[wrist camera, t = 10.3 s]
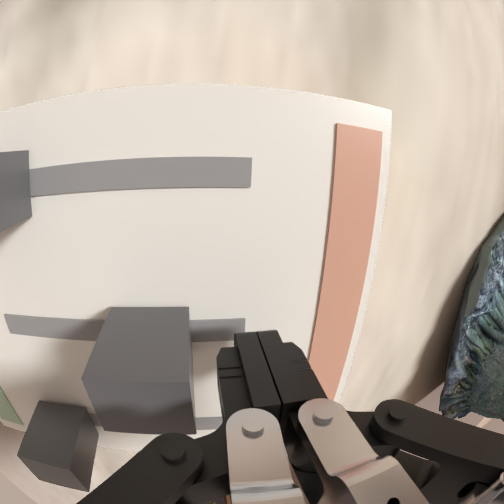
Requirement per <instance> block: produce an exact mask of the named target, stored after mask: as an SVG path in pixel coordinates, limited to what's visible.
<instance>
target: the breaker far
mask: <svg viewBox="0 0 504 504" xmlns="http://www.w3.org/2000/svg"><path fill="white" fill-rule="evenodd" d="M98 437H99V433H98V431H97V429H96V427H95V425H94V423H93V421H92V419H91V417H90V415H89V413H88V411H87V409H86V407H78V406H71V405H64V404H58V403H52V402H46V401H41V400H39V401H38V403H37V406H36V408H35V410H34V413H33V415H32V418H31V420H30V422H29V425H28V427H27V430H26V433H25V435H24V438H23V440H22V443H21V446H20V449H19V451H18V454H17V456H18V457H19V458H20V459H21V460H22V462H23V463H24V464H25V465H26V466H27V467H28V468H29V469H30V470H31V472H32V473H33V474H34V475H35V476H36V477H37V478H38V479H39V480H42V481H45V482H49V483H52V484H56V485H60V486H64V487H68V488H72V489H77V490H81V491H86V492H89V489H90V482H91V476H92V470H93V464H94V458H95V453H96V447H97V442H98Z"/></svg>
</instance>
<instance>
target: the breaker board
mask: <svg viewBox="0 0 504 504" xmlns="http://www.w3.org/2000/svg"><path fill="white" fill-rule="evenodd" d="M391 123H392V110H389V109H386V108H382V107H378V106H374V105H370V104H366V103H361V102H357V101H352V100H348V99H343V98H338V97H333V96H327V95H322V94H316V93H310V92H303V91H296V90H288V89H280V88H271V87H261V86H249V85H233V84H201V83H187V84H155V85H140V86H128V87H118V88H109V89H101V90H94V91H87V92H81V93H75V94H70V95H64V96H59V97H54V98H50V99H45V100H41V101H37V102H33V103H29V104H25V105H21V106H18V107H14V108H11V109H7V110H4V111H1V112H0V152H9V151H22V150H29V178H30V195H31V207H32V216H31V217H29V218H27V219H25V220H23V221H21V222H19V223H17V224H15V225H13V226H12V227H10V228H8V229H6V230H4V231H2V232H0V421H1V422H2V424H3V425H4V426H6V427H9V428H12V429H16V430H19V431H23V432H26V430H27V427H28V425H29V422H30V420H31V418H32V415H33V413H34V410H35V408H36V406H37V403H38V401H39V400H41V401H46V402H52V403H58V404H64V405H71V406H78V407H86V409H87V411H88V413H89V415H90V417H91V419H92V421H93V423H94V425H95V427H96V429H97V431H98V433H99V437H98V442H97V447H102V448H110V449H120V450H132V451H141V450H142V449H143V448H144V447H145V446H146V445H147V444H148V443H149V442H151V441H152V440H153V439H154V438H156V437H157V436H159V434H135V433H121V432H110V431H104V429H103V427H102V425H101V423H100V421H99V419H98V417H97V414H96V412H95V410H94V408H93V406H92V403H91V401H90V399H89V396H88V394H87V391H86V389H85V387H84V384H83V382H82V379H81V378H82V375H83V372H84V370H85V367H86V365H87V362H88V360H89V357H90V355H91V352H92V350H93V347H94V345H95V343H96V340H97V338H98V336H99V333H100V331H101V329H102V327H103V324H104V322H105V320H106V318H107V315H108V313H109V311H110V309H111V307H189V315H190V329H191V342H192V354H193V379H194V400H195V417H196V431H197V434H191V435H188V436H190V437H192V438H193V439H196V438H199V437H202V436H205V435H208V434H210V433H212V432H214V431H215V430H217V429H218V428H219V427H220V426H221V424H222V422H223V421H222V414H221V407H220V400H219V393H218V384H217V361H216V357H217V355H218V353H219V351H220V349H221V348H224V347H234V333H239V332H254V331H255V332H256V331H266V330H277V331H278V333H279V335H280V337H281V339H282V342H283V343H285V342H293V343H294V344H295V345H297V346H298V347H299V348H300V349H302V351H303V353H304V354H305V356H306V358H307V361H308V362H309V364H310V366H311V369H313V371H314V373H315V375H316V377H317V379H318V381H319V383H320V384H321V386H322V388H323V390H324V392H325V394H326V396H327V397H328V399H330V400H333V401H335V402H337V403H339V402H340V399H341V396H342V393H343V390H344V387H345V384H346V381H347V378H348V374H349V371H350V368H351V365H352V361H353V358H354V354H355V351H356V347H357V344H358V340H359V336H360V333H361V329H362V325H363V321H364V317H365V313H366V308H367V304H368V300H369V295H370V291H371V286H372V281H373V276H374V271H375V266H376V261H377V255H378V249H379V243H380V237H381V231H382V224H383V217H384V209H385V201H386V192H387V183H388V172H389V160H390V145H391Z"/></svg>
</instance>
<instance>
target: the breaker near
mask: <svg viewBox="0 0 504 504" xmlns="http://www.w3.org/2000/svg"><path fill="white" fill-rule="evenodd" d="M31 216H32V207H31V195H30V178H29V150H22V151H9V152H0V232H2V231H4V230H6V229H8V228H10V227H12V226H13V225H15V224H17V223H19V222H21V221H23V220H25V219H27V218H29V217H31Z"/></svg>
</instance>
